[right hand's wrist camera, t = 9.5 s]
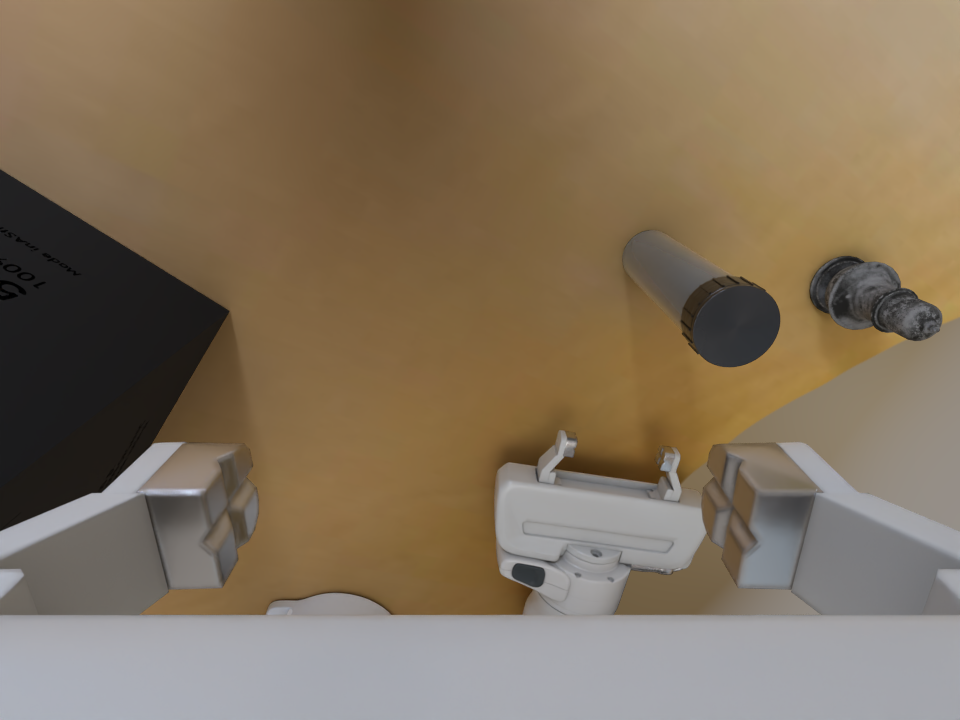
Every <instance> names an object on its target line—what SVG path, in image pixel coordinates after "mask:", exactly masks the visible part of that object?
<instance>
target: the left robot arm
mask: <svg viewBox="0 0 960 720" xmlns="http://www.w3.org/2000/svg"><path fill="white" fill-rule="evenodd" d="M576 446H577V437H576V433H575V432H569V431H563V430H559V431H558V435H557V439H556V443H555V445H553V446H552V447H551V448H550V449H549V450H548V451H546V452H545V453H544V454H543V455H542V456H541V457H540V458H539V461H538V465H537V466H531V465H525V464H518V463H511V462H508V463H506V464H505V465H503V466H502V467H501V468H500V469H498V471H497V475H496V482H495V492H494V517H495V532H496V554H497V561H498V566H499V570H500V573H501V574H502V575H503V576H504V577H506V578H508V579H511V580H513V581H516V582H518V583H520V584H523V585H525V586H527V587H530V588H532V589H533V591H532V592H531V593H530V595H529V596H528V598H527V600H526V603H525V607H524V610H523V614H522V615H614V613H615V612H616V610H617V608H618V605H619V602H620V599H621V597H622V594H623V591H624V588H625V585H626V582H627V579H628V576H629V574H630V571H631V570H634V571H642V572H657V573H659V574H664V575H670V574H672V573H673V571H679V570H682V569H685V568H687V567H688V566H689V565H690V564H691V561H692V559H693V556H694V554H695V552H696V550H697V549H698V547H699V546H700V544H701V542H702V541H703V539H704V537H705V535H706V533H707V532H706V530H705V527H704V523H703V520H702V510H701V501H702V496H701V494H700V493H699V492H698V491H697V490H694V489H689V488H682V487H681V486H680V483H679V479H678V476H677V473H676V470H677V467H678V464H679V461H680V453H679V451H678V450H677V448H675V447H668V446H659V448H658V451H659V452H658V453H657V454H656V457H655V461H656V463H657V464H658V467H659V469H660V470H661V471H665V472H666V475H667V478H666V477H660V480H659V483H658V484H654V483H647V482H641V481H634V480H627V479H620V478H613V477H607V476H600V475H593V474H586V473H579V472H572V471H566V470H559V469H555V466H556V465H557V464H558V463H559V462H560V461H561V460H562V459H563V458H564V456H565V457H574V453H575V450H574V448H575V447H576ZM266 615H391V614H390V613H389V612H388V611H387V610H386V609H384V608H383V607H382V606H380V605H378V604H377V603H375V602H373V601H371V600H369V599H366V598H363V597H360V596H356V595H352V594H345V593H327V594H320V595H316V596H312V597H309V598H306V599H303V600H298V601H292V600H281V601H274V602H272V603H271V604H270V605H269V607H268V609H267V612H266Z"/></svg>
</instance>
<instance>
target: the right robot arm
mask: <svg viewBox="0 0 960 720" xmlns="http://www.w3.org/2000/svg"><path fill="white" fill-rule="evenodd" d="M252 467H253V463H252V458H251V453H250V449H249V448H248V447H247V446H246V445H245V444H239V443H186V442H164V443H154V444H153V445H152V446H151V447H150V448H149V449H147V450H146V451H145V452H144V453H143V454H142V455H141V456H140V457H139V458H138V459H137V460H136V461H135V462H134V463H133V464H132V465H130V466H129V467H128V468H127V469H126V470H125V471H124V472H123V473H122V474H121V475H120V476H119V477H118V478H117V479H116V480H115V481H114V482H112V483H111V484H110V485H109V486H108V487H107V488H106V489H105V490H104V491H103V492H102V493H91V494H88V495H86V496H84V497H81V498H79V499H76V500H74V501H72V502H69V503H67V504H64V505H62V506H60V507H57V508H55V509H52V510H50V511H48V512H45V513H43V514H40V515H38V516H36V517H33V518H31V519H28V520H26V521H24V522H21V523H19V524H16V525H14V526H12V527H9V528H7V529H4V530H2V531H0V720H960V531H958V530H955V529H953V528H951V527H948V526H946V525H943V524H941V523H939V522H936V521H934V520H931V519H929V518H927V517H924V516H922V515H920V514H917V513H915V512H912V511H910V510H907V509H905V508H903V507H900V506H898V505H895V504H893V503H891V502H888V501H886V500H884V499H881V498H879V497H876V496H874V495H872V494H869V493H858V492H857V491H856V490H855V489H854V488H853V487H852V486H851V485H850V484H849V483H848V482H846V481H845V480H844V479H843V478H842V477H841V476H840V475H839V474H838V473H837V472H836V471H835V470H834V469H833V468H832V467H831V466H830V465H829V464H828V463H826V462H825V461H824V460H823V459H822V458H821V457H820V456H819V455H818V454H817V453H816V452H815V451H814V450H813V449H812V448H811V447H810V446H808V445H807V444H805V443H802V442H784V443H738V444H716V445H713V446H712V448H711V450H710V453H709V457H708V462H707V467H708V468H709V470H710V472H711V473H712V475H713V476H714V477H713V478H712V479H711V480H710V481H709V482H708V483H707V484H706V485H705V486H704V487H703V493H702V501H701V510H702V520H703V523H704V527H705V530H706V532H707V534H708V536H709V538H710V540H711V541H712V542H713V543H715V544H717V545H718V546H720V547H721V548H723V554H722V561H723V563H724V564H725V566H726V568H727V570H728V571H729V573H730V575H731V577H732V578H733V580H734V582H735V584H736V585H737V587H738V588H754V589H791V592H792V593H793V594H795V595H796V596H797V597H799V598H800V599H801V600H803V601H804V602H805V603H807V604H808V605H809V606H811V607H812V608H813V609H814V610H816V611H817V612H818V613H820V614H821V615H139V614H140V613H142V612H143V611H144V610H146V609H147V608H148V607H150V606H151V605H152V604H154V603H155V602H156V601H158V600H159V599H160V598H162V597H163V596H164V595H166V594H167V593H168V592H169V589H205V588H222V587H223V586H224V584H225V582H226V580H227V579H228V577H229V575H230V573H231V572H232V570H233V568H234V566H235V565H236V563H237V561H238V554H237V548H239V547H240V546H242V545H243V544H245V543H247V542H248V541H249V540H250V538H251V536H252V534H253V532H254V530H255V527H256V522H257V518H258V514H259V499H258V492H257V487H256V486H255V485H254V484H253V483H252V482H251V481H250V480H249V479H248V478H247V477H246V476H247V475H248V473H249V472H250V470H251V469H252Z"/></svg>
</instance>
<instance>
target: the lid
mask: <svg viewBox="0 0 960 720" xmlns="http://www.w3.org/2000/svg"><path fill="white" fill-rule="evenodd" d="M765 291H766V290H765V289H763V288H761V287H760V286H758V285H756V284H755V283H753V282H752V283H751V282H750V281H748V280H746V279H745V278H743V277H735V276H729V275H727V276H722V277H717V278H712V279H711V280H709V281H707V282H705V283H703V284H702V285H699V287H698V288H697V289H696V290H694V291H693V292H692V294H691V295H689V298H688V299H687V301H686V303H685V305H684V307H682V309H683V310H682V314H681V320H680V323H681V328H682V332H683V333H682V335H683V336H684V337H685V338H686V340H687V341H688V342H689V343H688V344H689V345H690V346H691V348H692V349H693V350H694V351H695V352H696V353H697V354H700V355H701V356H702V357H703V358H704V359H705V360H706V361H708V362H710V363H712V364H714V365H717V366H722V367H737V366H742V365H745V364H748V363H750V362H752V361H754V360H756V359H757V358H759V357H760V356H762V355H763V354H764V353H765V352H766V351H767V350H768V349H769V348H770V346H771V345H772V344H773V342H774V340H775V339H776V336H777V334H778V331H779V327H780V312H779V309H778V306H777V304H776V302H775V301H774V299H773V298H772V297H771V296H770V295H769V294H768V293H767V292H765Z"/></svg>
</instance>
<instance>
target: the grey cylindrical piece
mask: <svg viewBox="0 0 960 720" xmlns="http://www.w3.org/2000/svg"><path fill="white" fill-rule="evenodd" d="M623 266H624V269H625V271H626V273H627V274H628V275H629V276H630V278H631V279H632V280H633V281H634V282H635V283H636V284H637V285H638V286H639V287H640V288H641V289H642V290H643V291H644V292H645V293H646V294H647V295H648V296H649V297H650V298H651V299H652V301H653V302H654V303H655V304H656V305H657V306H658V307H659V308H660V309H661V310H662V311H663V312H664V313H665V314H666V315H667V316H668V317H669V318H670V319H671V320H672V321H673V322H674V324H675V325H676V326H677V327H678V328H679V329H680V330H681V331H682V328H681V323H680V320H681V314H682V310H683V309H682V307H684V305H685V303H686V301H687V299H688V298H689V295H691V294H692V292H693V291H694V290H696V289H697V288H698V287H699V285H702V284H703V283H705V282H707V281H709V280H711V279H712V278H717V277H722V276H727V275H729V276H733V275H732V274H730V273H728V272H727V271H725V270H723V269H722V268H720V267H719V266H717V265H715V264H714V263H712V262H710V261H709V260H707V259H706V258H704V257H702V256H701V255H699V254H697V253H696V252H694V251H693V250H691V249H689V248H688V247H686V246H685V245H683V244H681V243H680V242H678V241H676V240H675V239H673V238H672V237H670V236H668V235H667V234H665V233H663V232H661V231H657V230H648V231H644V232H641V233H639V234H637V235H636V236H634V237H633V238H632V239H631V240H630V241H629V242H628V244H627V245H626V247H625V249H624V252H623Z"/></svg>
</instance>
